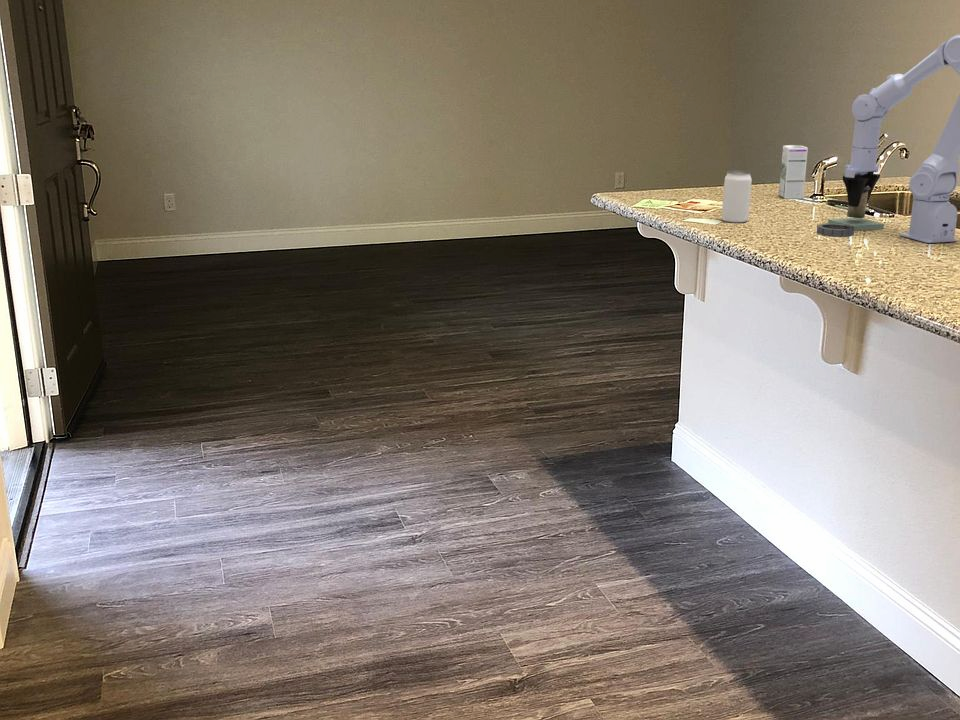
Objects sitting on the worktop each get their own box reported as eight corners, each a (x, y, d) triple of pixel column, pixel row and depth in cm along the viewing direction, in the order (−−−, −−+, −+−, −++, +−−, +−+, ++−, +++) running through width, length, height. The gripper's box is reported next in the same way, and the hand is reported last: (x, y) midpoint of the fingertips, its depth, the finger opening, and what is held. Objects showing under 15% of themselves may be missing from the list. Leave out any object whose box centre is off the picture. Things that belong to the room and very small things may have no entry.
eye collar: (860, 235, 225) (861, 229, 224) (830, 237, 222) (831, 230, 222) (839, 229, 232) (839, 223, 231) (809, 231, 230) (810, 224, 229)
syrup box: (804, 199, 276) (809, 147, 271) (783, 199, 276) (788, 146, 271) (798, 196, 281) (803, 144, 276) (777, 196, 281) (782, 144, 276)
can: (748, 223, 239) (753, 174, 235) (721, 222, 240) (725, 173, 236) (747, 219, 245) (751, 170, 241) (720, 218, 246) (724, 170, 242)
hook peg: (868, 217, 234) (873, 185, 232) (860, 218, 231) (865, 186, 229) (850, 214, 237) (855, 183, 235) (842, 216, 234) (846, 184, 232)
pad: (883, 228, 232) (884, 223, 232) (851, 230, 230) (851, 225, 230) (859, 222, 241) (859, 217, 240) (827, 224, 238) (828, 219, 238)
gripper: (861, 144, 237) (854, 199, 241) (835, 148, 227) (828, 206, 231) (890, 146, 232) (882, 203, 237) (864, 150, 222) (857, 210, 227)
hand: (857, 205), depth 234 cm, fingers closed on hook peg, 4 cm apart
